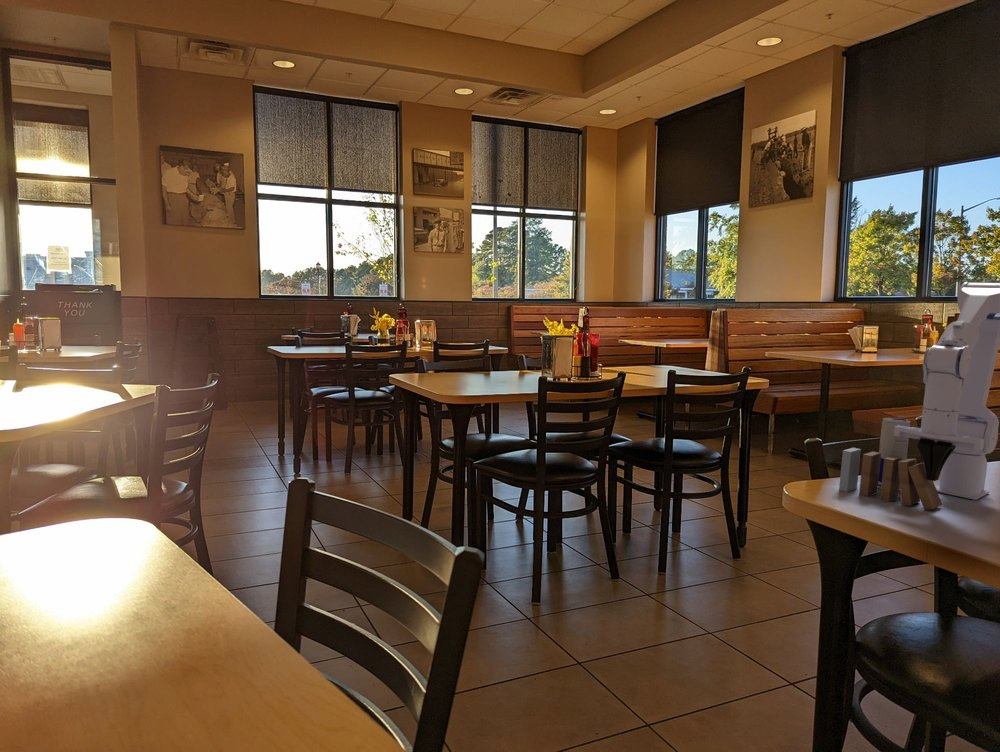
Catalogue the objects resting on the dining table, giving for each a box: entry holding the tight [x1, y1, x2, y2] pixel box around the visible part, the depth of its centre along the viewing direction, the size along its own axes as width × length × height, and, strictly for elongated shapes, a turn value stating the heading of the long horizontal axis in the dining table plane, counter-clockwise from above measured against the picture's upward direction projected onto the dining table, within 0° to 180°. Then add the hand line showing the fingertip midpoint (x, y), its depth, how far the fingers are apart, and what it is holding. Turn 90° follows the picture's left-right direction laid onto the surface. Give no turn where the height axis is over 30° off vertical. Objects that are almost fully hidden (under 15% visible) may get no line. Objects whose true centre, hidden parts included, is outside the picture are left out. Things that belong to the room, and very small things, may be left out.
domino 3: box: [879, 456, 903, 503], centre depth 137 cm, size 5×2×8 cm, turn 130°
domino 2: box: [858, 451, 881, 497], centre depth 140 cm, size 5×2×8 cm, turn 130°
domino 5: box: [908, 462, 943, 511], centre depth 133 cm, size 5×2×8 cm, turn 130°
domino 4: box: [898, 458, 921, 506], centre depth 135 cm, size 5×2×8 cm, turn 130°
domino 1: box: [838, 447, 862, 493], centre depth 143 cm, size 5×2×8 cm, turn 130°
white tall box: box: [878, 417, 911, 491], centre depth 144 cm, size 5×5×15 cm
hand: (932, 479), depth 132 cm, fingers closed
